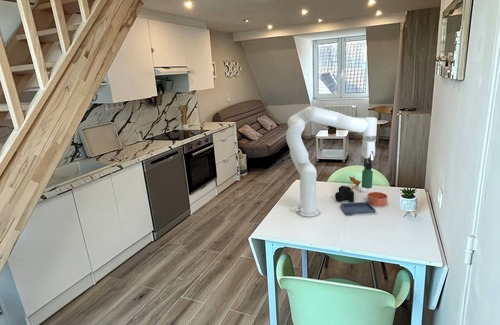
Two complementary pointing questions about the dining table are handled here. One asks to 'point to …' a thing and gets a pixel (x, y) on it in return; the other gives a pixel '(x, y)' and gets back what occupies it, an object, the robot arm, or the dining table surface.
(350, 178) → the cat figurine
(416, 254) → the dining table surface
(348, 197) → the film camera
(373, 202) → the bowl
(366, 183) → the bottle
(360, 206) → the tray
